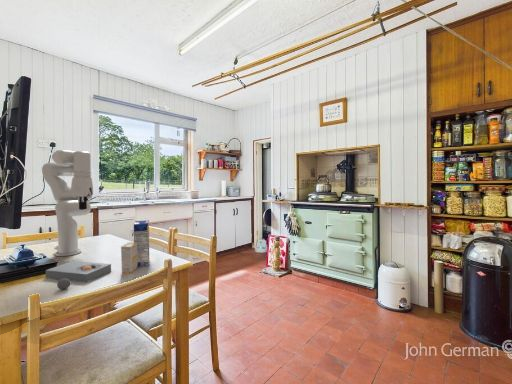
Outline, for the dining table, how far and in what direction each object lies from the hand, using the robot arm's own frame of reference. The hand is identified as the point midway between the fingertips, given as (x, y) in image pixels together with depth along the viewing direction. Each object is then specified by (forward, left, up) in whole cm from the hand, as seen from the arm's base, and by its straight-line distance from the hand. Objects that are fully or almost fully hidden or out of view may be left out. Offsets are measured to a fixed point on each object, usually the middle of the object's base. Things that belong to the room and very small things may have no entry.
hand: (82, 209), depth 141 cm
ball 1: (+22, -31, -26) cm, 46 cm away
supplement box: (+33, -6, -29) cm, 44 cm away
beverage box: (+32, +5, -29) cm, 43 cm away
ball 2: (+18, -16, -26) cm, 36 cm away
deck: (+14, -16, -28) cm, 36 cm away
